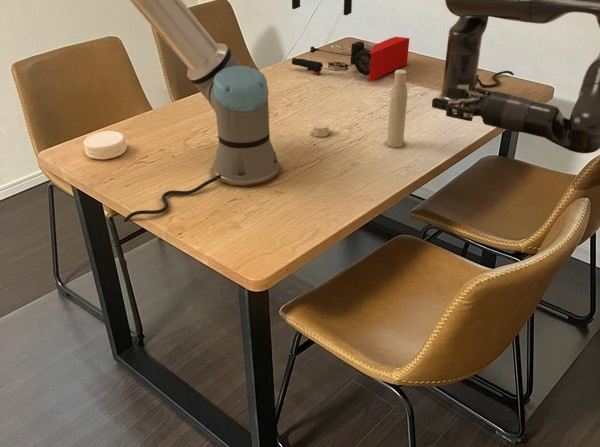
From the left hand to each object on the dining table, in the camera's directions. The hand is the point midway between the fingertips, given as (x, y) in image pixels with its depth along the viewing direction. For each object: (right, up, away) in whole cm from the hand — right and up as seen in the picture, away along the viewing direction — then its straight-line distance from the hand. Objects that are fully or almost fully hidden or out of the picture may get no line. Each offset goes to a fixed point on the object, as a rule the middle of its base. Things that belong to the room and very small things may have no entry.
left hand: (321, 11), depth 146 cm
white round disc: (-54, -32, +9) cm, 63 cm away
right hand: (+28, -21, -2) cm, 35 cm away
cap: (0, -25, +16) cm, 30 cm away
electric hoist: (+12, +3, +63) cm, 64 cm away
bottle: (+19, -30, +11) cm, 37 cm away
